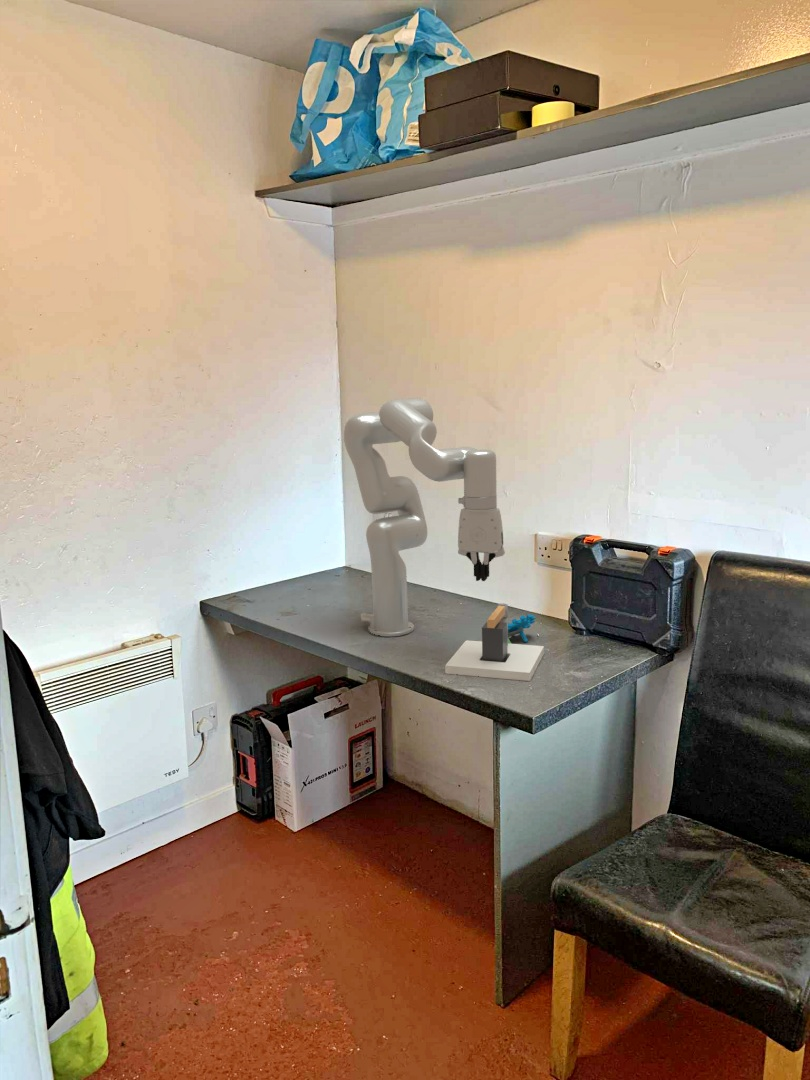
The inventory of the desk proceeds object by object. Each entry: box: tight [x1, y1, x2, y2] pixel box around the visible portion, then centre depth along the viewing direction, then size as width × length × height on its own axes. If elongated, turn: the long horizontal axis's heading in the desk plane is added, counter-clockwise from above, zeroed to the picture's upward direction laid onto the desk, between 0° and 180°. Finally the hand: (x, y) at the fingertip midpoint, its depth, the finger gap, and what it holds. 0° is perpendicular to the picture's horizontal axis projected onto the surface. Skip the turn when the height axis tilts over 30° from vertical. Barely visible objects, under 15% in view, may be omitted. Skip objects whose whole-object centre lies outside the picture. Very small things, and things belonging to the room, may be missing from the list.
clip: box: [486, 602, 509, 628], centre depth 199 cm, size 2×14×3 cm, turn 161°
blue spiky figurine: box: [508, 613, 537, 644], centre depth 214 cm, size 11×6×10 cm
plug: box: [481, 621, 507, 662], centre depth 197 cm, size 5×5×10 cm
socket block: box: [444, 616, 545, 682], centre depth 198 cm, size 20×19×9 cm
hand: (481, 579), depth 195 cm, fingers closed
